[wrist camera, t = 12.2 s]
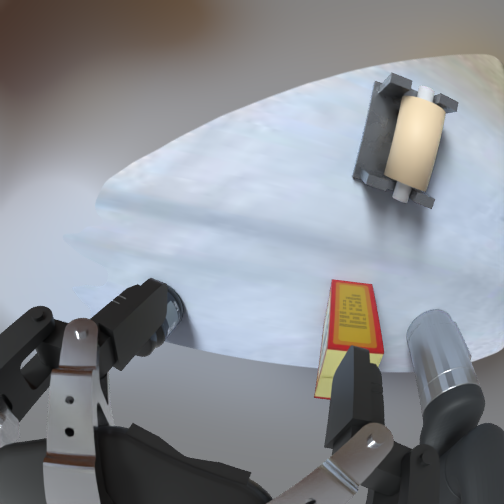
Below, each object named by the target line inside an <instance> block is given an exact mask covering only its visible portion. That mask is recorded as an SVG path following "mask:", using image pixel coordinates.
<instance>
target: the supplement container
mask: <svg viewBox="0 0 504 504" xmlns="http://www.w3.org/2000/svg"><path fill="white" fill-rule="evenodd" d="M167 287H168V291H167V315H166V318H165V320H164V322H163V324H162V325H161V326H160V327H159V328H158V329H157V331H156V332H155V333H154V334H153V335H152V336H151V337H150V339H149V340H148V341H147V342H146V343H145V344H144V345H143V347H142V348H141V349H140V350H139V351H138V352H137V353H136V355H137V356H141V357H145V356H148V355H150V354H151V353H152V351H153V350H154V349H155V348H157V347H159V346H160V345H162V344H163V342H164V341H165V339H166V338H167V336H168V335H169V334H170V333H171V331H172V330H173V329H174V328H175V327H176V325H177V324H178V323H179V322H180V321H181V319H182V317H183V306H182V302H181V300H180V298H179V297H178V295H177V294H176V293H175V292H174V290H172V289H171V288H170V287H169V286H167Z"/></svg>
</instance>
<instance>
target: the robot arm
mask: <svg viewBox="0 0 504 504" xmlns="http://www.w3.org/2000/svg"><path fill="white" fill-rule="evenodd" d="M167 291H168V287H167V284H165V283H163V282H160V281H158V280H155V279H153V278H150V279H148V280H147V281H146V282H144V283H143V284H142V285H141V286H140V285H138V284H137V285H135V286H132V287H129V288H127V289H126V290H124V291H123V292H122V293H121V294H120V295H119V296H117V297H116V298H115V299H113V301H111V302H110V303H109V304H107V305H106V306H105V307H104V308H103V309H102V310H100V311H99V312H98V313H97V314H96V315H94V316H93V317H92V318H91V319H87V318H78V319H75V320H72V321H71V322H70V323H66V322H62V321H59V320H55V319H54V318H53V315H52V312H51V310H50V309H49V308H47V307H45V306H37V307H33V308H31V309H30V310H28V311H27V312H26V313H25V314H23V315H22V316H21V317H20V318H19V319H17V320H16V321H15V322H14V323H13V324H12V325H10V326H9V327H8V328H7V329H6V330H5V331H4V332H2V333H1V334H0V504H346V503H347V502H348V501H349V500H350V499H351V498H352V497H353V496H354V495H355V494H356V493H357V491H358V489H357V488H358V487H359V485H362V486H364V487H366V488H368V494H367V501H366V504H504V431H503V430H502V429H501V428H500V427H498V426H497V425H494V424H492V423H484V424H481V425H478V422H479V420H480V418H481V416H482V414H483V411H484V407H485V400H484V396H483V393H482V390H481V387H480V384H479V381H478V378H477V376H476V374H475V371H474V369H473V366H472V364H471V361H470V360H471V354H470V352H469V350H468V347H467V345H466V343H465V341H464V339H463V336H462V334H461V332H460V330H459V328H458V326H457V324H456V322H453V321H452V319H451V317H450V315H449V314H448V313H446V312H445V311H442V310H431V311H428V312H425V313H423V314H421V315H420V316H419V317H417V318H416V319H415V320H414V321H413V322H412V324H411V325H410V327H409V329H408V332H407V341H408V345H409V349H410V353H411V358H412V362H413V367H414V372H415V376H416V381H417V386H418V392H419V397H420V403H421V409H422V416H423V428H422V431H421V435H420V445H418V446H416V447H415V448H413V449H410V448H408V447H406V446H403V445H401V444H399V443H397V442H395V441H394V439H393V435H392V433H391V431H390V430H389V429H388V428H387V427H386V426H385V424H384V402H383V395H382V393H383V387H382V376H381V372H380V370H379V369H378V367H377V365H376V364H374V363H370V354H369V350H368V349H365V348H361V347H357V346H353V345H351V346H350V347H349V349H348V351H347V352H346V354H345V356H344V358H343V359H342V361H341V363H340V364H339V366H338V368H337V369H336V371H335V374H334V377H333V380H332V389H331V399H330V408H329V417H328V424H327V431H326V439H325V445H324V447H325V448H331V449H333V452H332V456H331V457H330V458H328V459H327V460H326V461H325V462H324V463H322V464H321V465H320V466H319V467H317V468H316V469H315V470H314V471H312V472H311V473H310V474H309V475H307V476H306V477H304V478H303V479H302V480H300V481H299V482H298V483H296V484H295V485H293V486H292V487H291V488H289V489H288V490H287V491H285V492H283V493H282V494H280V495H279V496H277V497H276V498H274V499H272V497H271V496H270V495H269V494H268V492H267V491H266V490H264V489H263V488H262V487H261V486H260V485H258V484H257V483H256V482H254V481H252V480H250V479H249V477H250V474H251V472H248V471H245V470H241V469H238V468H235V467H232V466H229V465H226V464H223V463H220V462H212V461H206V460H200V459H194V458H189V457H186V456H184V455H182V454H181V453H179V452H178V451H177V450H175V449H174V448H173V447H172V446H170V445H169V444H168V443H166V442H165V441H164V440H163V439H161V438H160V437H159V436H156V435H155V434H152V433H151V432H149V431H147V430H145V429H143V428H141V427H139V426H137V425H136V424H134V423H133V424H132V425H131V427H130V428H124V427H119V426H115V425H114V421H113V416H112V412H111V402H110V384H109V370H110V369H111V368H112V367H115V368H116V369H118V370H120V371H122V370H123V369H124V367H125V366H126V365H127V364H128V363H129V362H130V360H131V359H132V358H133V357H134V356H135V355H136V353H137V352H138V351H139V350H140V349H141V348H142V347H143V345H144V344H145V343H146V342H147V341H148V340H149V339H150V337H151V336H152V335H153V334H154V333H155V332H156V331H157V329H158V328H159V327H160V326H161V325H162V324H163V322H164V320H165V318H166V315H167ZM34 349H36V351H37V354H36V355H35V356H34V357H33V358H32V359H31V360H30V361H29V362H28V363H27V364H26V365H25V366H24V367H23V368H22V369H21V370H20V366H21V363H22V362H23V360H24V359H25V358H26V357H27V356H28V355H29V354H30V353H31V352H32V351H33V350H34ZM49 386H50V389H49V400H48V415H47V438H45V439H39V440H32V441H25V442H17V443H15V441H17V440H18V439H19V438H20V432H19V422H20V421H21V420H22V418H23V417H24V416H25V414H26V413H27V412H28V411H29V410H30V409H31V407H32V406H33V405H34V404H35V403H36V401H37V400H38V399H39V398H40V397H41V395H42V394H43V393H44V392H45V391H46V390H47V388H48V387H49ZM477 425H478V426H477Z"/></svg>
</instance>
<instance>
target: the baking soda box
mask: <svg viewBox="0 0 504 504" xmlns="http://www.w3.org/2000/svg"><path fill="white" fill-rule="evenodd" d="M351 345H353V346H357V347H361V348H365V349H368V350H369V354H370V363H374V364H376V365H377V367H378V366H379V364H380V361H381V359H382V356H383V354H384V348H383V341H382V335H381V329H380V323H379V317H378V312H377V306H376V301H375V296H374V292H373V287H372V284H365V283H357V282H349V281H340V280H332V282H331V288H330V294H329V300H328V305H327V311H326V316H325V321H324V326H323V334H322V343H321V352H320V360H319V367H318V374H317V381H316V388H315V394H314V398H320V399H329V400H330V399H331V389H332V380H333V377H334V374H335V371H336V369H337V368H338V366H339V364H340V363H341V361H342V359H343V358H344V356H345V354H346V352H347V351H348V349H349V347H350V346H351Z"/></svg>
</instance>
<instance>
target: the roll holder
mask: <svg viewBox="0 0 504 504" xmlns="http://www.w3.org/2000/svg"><path fill="white" fill-rule="evenodd" d="M411 85H412V80H409V79H407V78H404V77H402V76H399V75H397V74H394V73H391V74H390V75H389V76H388V78H387V79H386V80H385V81H384V82H383V83H380V82H377V81H375V82H374V85H373V91H372V95H371V100H370V105H369V110H368V114H367V119H366V123H365V127H364V132H363V136H362V140H361V144H360V148H359V152H358V156H357V160H356V163H355V167H354V171H353V175H352V177H354V178H357V179H360V180H363V182H364V183H365V184H366V185H369V186H372V187H375V188H378V189H380V190H383V191H386V190H387V189H389V190H392V191H394V190H395V186H396V183H397V181H396V180H394V179H392V178H389V177H387V176H385V175H384V171H385V168H386V164H387V160H388V157H389V153H390V149H391V145H392V141H393V137H394V133H395V128H396V124H397V119H398V115H399V110H400V105H401V100H402V96H414V97H417V95H418V92H417V91H415V90H413V89H411ZM433 103H434V104H436V105H438V106H439V107H441V108H442V109H443V110H444V111H445V112H446V113H452V112H457V107H458V102H457V101H455V100H453V99H451V98H449V97H447V96H445V95H443V94H438V95H435V96H434V98H433ZM409 198H410V199H411V200H412V201H414V202H415V203H418V204H420V205H423V206H425V207H428V208H430V209H432V207H433V204H434V201H435V199H434V198H432V197H430V196H429V195H427V194H426V193H424V192H422V191H421V190H419V189H416V188H414V187H412V190H411V193H410V196H409Z"/></svg>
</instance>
